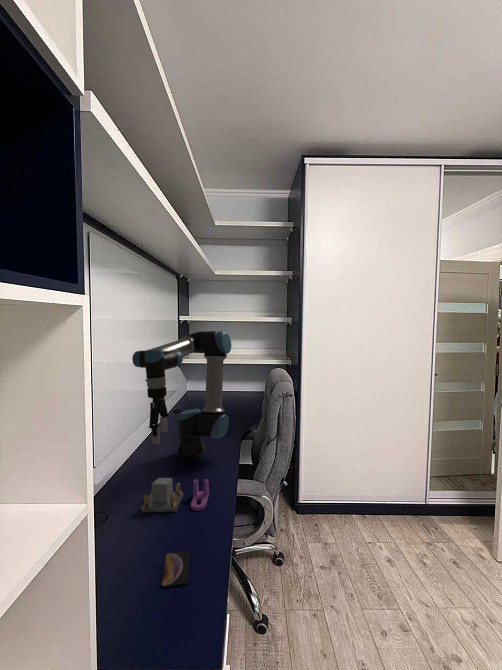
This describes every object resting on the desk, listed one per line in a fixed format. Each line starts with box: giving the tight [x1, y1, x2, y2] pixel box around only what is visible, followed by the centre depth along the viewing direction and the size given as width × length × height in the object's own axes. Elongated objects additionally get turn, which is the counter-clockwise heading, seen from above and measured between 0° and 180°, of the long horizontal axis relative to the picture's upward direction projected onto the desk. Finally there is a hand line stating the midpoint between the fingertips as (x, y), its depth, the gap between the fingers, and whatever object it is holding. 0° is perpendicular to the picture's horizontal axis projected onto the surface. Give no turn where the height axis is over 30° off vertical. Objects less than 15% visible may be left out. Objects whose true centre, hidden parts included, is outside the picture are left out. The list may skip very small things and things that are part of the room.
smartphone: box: [160, 550, 190, 589], centre depth 111 cm, size 8×1×15 cm
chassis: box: [140, 482, 184, 513], centre depth 151 cm, size 13×13×6 cm
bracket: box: [190, 478, 210, 511], centre depth 151 cm, size 13×6×7 cm, turn 179°
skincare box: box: [151, 477, 174, 503], centre depth 151 cm, size 6×6×7 cm
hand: (160, 437), depth 160 cm, fingers open, 13 cm apart
